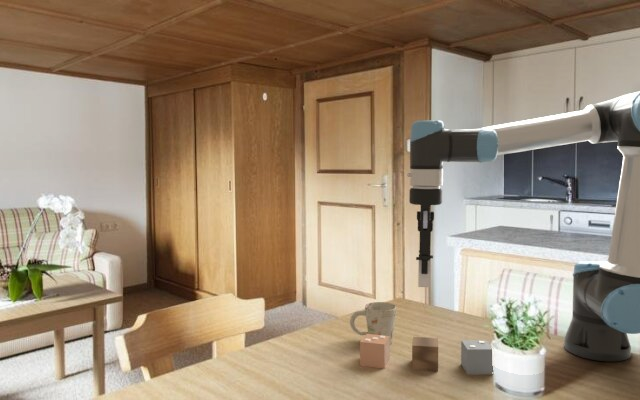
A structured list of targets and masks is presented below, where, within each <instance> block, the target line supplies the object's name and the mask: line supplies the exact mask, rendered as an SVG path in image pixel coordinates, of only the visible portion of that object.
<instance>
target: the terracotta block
mask: <svg viewBox="0 0 640 400" xmlns="http://www.w3.org/2000/svg"><path fill="white" fill-rule="evenodd" d="M390 360H391V344H390V336H384V335H374V334H366V335H363V337H362V338H361V340H360V342H359V364H360V365H359V366H362V367H368V368H369V367H370V368H378V369H386V367H387V365H388V363H389V362H390Z"/></svg>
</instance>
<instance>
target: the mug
mask: <svg viewBox="0 0 640 400" xmlns="http://www.w3.org/2000/svg"><path fill="white" fill-rule="evenodd" d="M396 313H397V306H396V305H395V304H394V303H390V302H385V301H376V302H374V301H373V302H369V303H366V304H365V306H364V310H357V311H355V312H353V314H351V316H350V319H349V325H350V327H351V329H352V330H353V331H354V333H356V334H357V335H361V336H365V335H366V334H374V335H384V336H390V345H391V344H392V343H393V336H394V328H395V320H396ZM359 316H363V317H364V316H365V318H366V319H365V320H366V328H367V331H362V330H361V331H360V330H359V329H358V328H357V326H356V323H355V321H356V319H357V318H358V317H359Z"/></svg>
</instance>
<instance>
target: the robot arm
mask: <svg viewBox="0 0 640 400" xmlns="http://www.w3.org/2000/svg"><path fill="white" fill-rule="evenodd" d="M587 141H588V142H589V143H590V144H593V145H594V144H600V143H613V142H614V143H616V142H617V148H616V149H617V150H618V151H619V152H620V153H621V154H622V156H623V157H622V165H621V170H620V171H621V172H620V179H619V183H618V191H617V197H616V203H615V204H616V205H615V212H614V218H613V225H612V231H611V238H610V246H609V250H608V251H609V253H608V256H607V257H608V258H607V260H606V261H598V260H597V261H596V260H595V261H589V260H588V261H578V262H576V263H575V264H574V266H573V273H572V277H573V278H572V279H573V280H572V281H573V285H572V287H573V288H572V317H571V321H570V323H569V324H568V327H567V331H566V333H565V335H564V338H563V339H564V340H563V341H564V342H563V343H564V344H563V345H564V346H563V347H564V349H565V350H566V351H568V352H569V353H570V354H572V355H575V356H576V357H580V358H584V359H587V360H593V361H600V362H622V361H626V360H628V359H631V356H632V353H631V351H632V347H631V343H630V340H629V336H628V334H629V335H637V334H638V335H639V334H640V90H639V91H635V92H630V93H626V94H623V95H621V96H618V97H615V98H612V99H609V100H606V101H602V102H598V103H593V104H589V105H587V106H585V108H584V109H582V110H577V111H570V112H566V113H559V114H555V115H554V114H553V115H548V116H543V117H542V116H541V117H537V118H532V119H526V120H519V121H514V122H507V123H502V124H496V125H490V126H484V127H480V128H472V129H471V128H469V129H468V128H465V129H462V128H461V129H448V128H445V124H444V122H443V121H442V120H433V119H432V120H431V119H429V120H427V119H426V120H416V121H415V120H414V122H413V123H412V124H411V126H410V141H409V171H410V172H408V173H407V177H408V178H409V185H410V189H409V199H408V200H409V201H408V202H409V204H410V205H413V206H417V205H418V206H419V205H420V211H418V210H417V211H416V220H417V231H418V232H419V249H418V256H416V257H415V260H416V261H418V276H417V277H418V281H417V285H418V288H431V260H432V259H434V255H431V233H432V232H433V227H434V221H435V220H434V219H435V212H434V211H431V206H439V205H441V204H443V189H442V188H441V187H442V186H443V182H444V178H443V177H444V166H443V164H444V162H446V163H449V162H451V163H455V162H456V163H480V164H481V163H490V162H494V161H495V160H496V159H497V156H502V155H507V154H513V153H514V154H515V153H521V152H527V151H531V150H537V149H538V150H539V149H545V148H551V147H557V146H563V145H569V144H576V143H583V142H587Z"/></svg>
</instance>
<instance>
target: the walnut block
mask: <svg viewBox="0 0 640 400" xmlns="http://www.w3.org/2000/svg"><path fill="white" fill-rule="evenodd" d="M438 339H439V338H438V337H421V336H413V337H412V343H411V347H412V348H411V370H412V371H424V372H425V371H426V372H437V373H438V372H439V340H438Z"/></svg>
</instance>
